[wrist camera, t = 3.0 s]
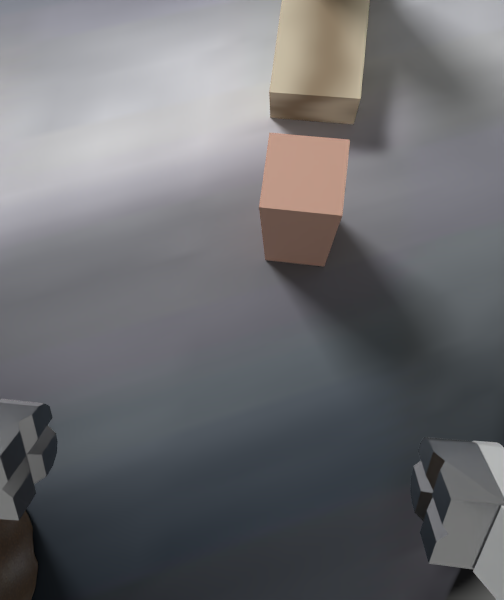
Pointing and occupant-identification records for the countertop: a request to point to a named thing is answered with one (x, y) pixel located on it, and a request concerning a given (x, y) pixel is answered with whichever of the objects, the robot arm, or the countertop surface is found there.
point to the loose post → (302, 197)
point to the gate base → (319, 60)
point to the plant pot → (17, 559)
